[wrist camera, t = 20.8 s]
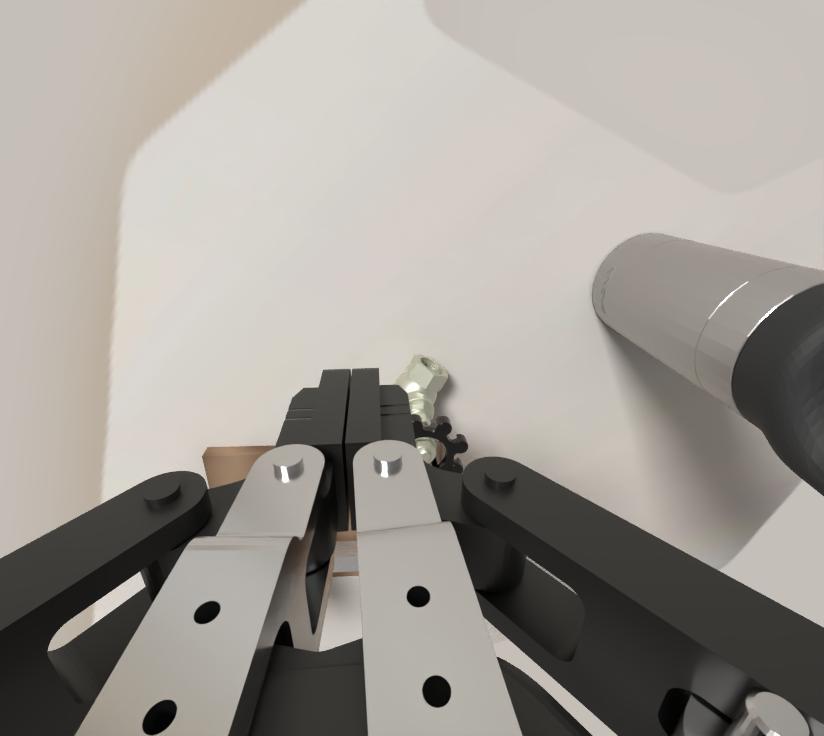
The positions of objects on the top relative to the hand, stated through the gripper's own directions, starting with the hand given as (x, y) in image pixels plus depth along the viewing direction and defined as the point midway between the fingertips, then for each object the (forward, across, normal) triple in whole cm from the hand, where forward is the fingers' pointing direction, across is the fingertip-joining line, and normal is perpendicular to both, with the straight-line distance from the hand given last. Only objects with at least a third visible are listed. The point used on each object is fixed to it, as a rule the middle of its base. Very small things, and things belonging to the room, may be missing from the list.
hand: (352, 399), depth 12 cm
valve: (+27, -4, +13) cm, 31 cm away
